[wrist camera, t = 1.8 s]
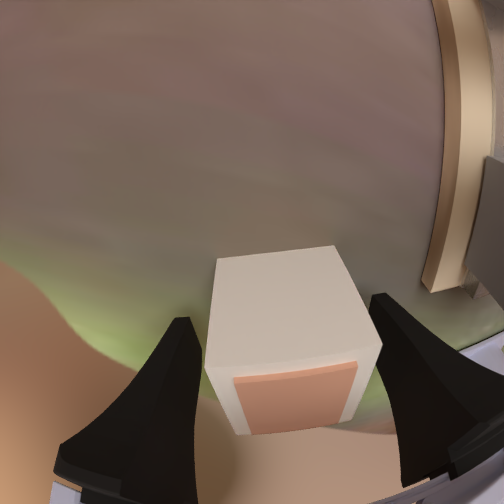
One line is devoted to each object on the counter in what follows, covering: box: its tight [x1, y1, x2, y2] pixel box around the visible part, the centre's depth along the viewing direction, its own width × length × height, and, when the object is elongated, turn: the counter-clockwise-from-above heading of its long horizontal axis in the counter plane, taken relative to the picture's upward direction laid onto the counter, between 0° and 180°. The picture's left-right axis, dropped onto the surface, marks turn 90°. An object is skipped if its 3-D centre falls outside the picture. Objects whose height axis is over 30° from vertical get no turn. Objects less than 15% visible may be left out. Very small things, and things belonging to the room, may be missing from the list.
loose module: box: [204, 246, 382, 435], centre depth 10 cm, size 5×4×5 cm
